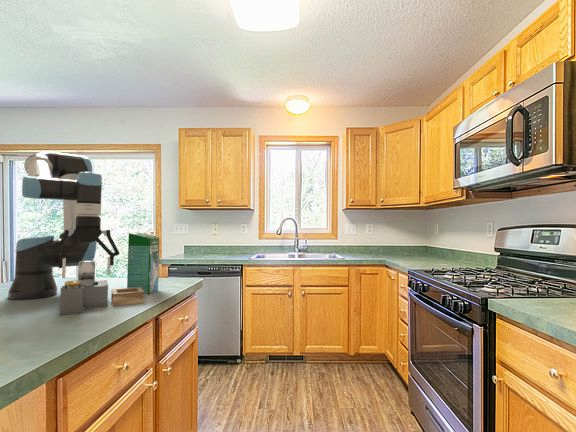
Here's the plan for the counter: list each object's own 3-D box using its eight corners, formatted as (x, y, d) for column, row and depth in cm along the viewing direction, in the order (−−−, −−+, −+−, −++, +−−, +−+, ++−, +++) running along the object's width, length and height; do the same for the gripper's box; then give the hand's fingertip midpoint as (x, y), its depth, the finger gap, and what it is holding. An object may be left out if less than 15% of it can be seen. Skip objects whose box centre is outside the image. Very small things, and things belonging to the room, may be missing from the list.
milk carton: (148, 294, 130) (150, 232, 131) (126, 294, 130) (128, 232, 131) (158, 290, 139) (159, 232, 140) (137, 290, 139) (139, 232, 140)
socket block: (64, 302, 115) (65, 280, 116) (106, 298, 122) (107, 277, 122) (59, 315, 99) (60, 289, 99) (108, 310, 106) (108, 285, 106)
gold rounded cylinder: (64, 302, 104) (65, 281, 104) (80, 300, 106) (81, 280, 107) (63, 305, 100) (64, 283, 101) (80, 303, 103) (80, 282, 103)
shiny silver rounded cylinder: (77, 295, 114) (79, 261, 115) (94, 293, 117) (95, 260, 117) (77, 297, 110) (78, 262, 110) (94, 296, 112) (95, 261, 113)
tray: (111, 300, 120) (111, 289, 120) (140, 297, 125) (140, 287, 125) (112, 305, 111) (112, 294, 111) (143, 302, 116) (144, 291, 117)
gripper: (43, 214, 105) (41, 280, 104) (128, 216, 117) (126, 275, 117) (46, 215, 111) (44, 277, 110) (126, 217, 124) (125, 272, 123)
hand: (86, 276), depth 113 cm, fingers open, 13 cm apart
